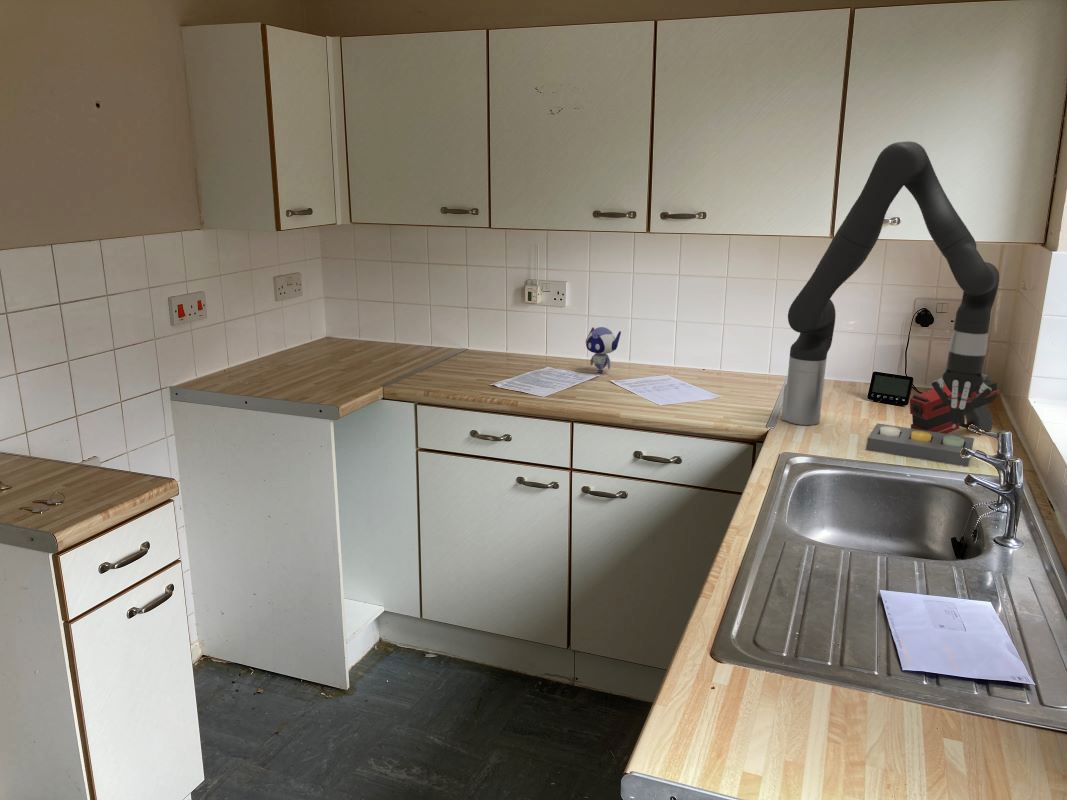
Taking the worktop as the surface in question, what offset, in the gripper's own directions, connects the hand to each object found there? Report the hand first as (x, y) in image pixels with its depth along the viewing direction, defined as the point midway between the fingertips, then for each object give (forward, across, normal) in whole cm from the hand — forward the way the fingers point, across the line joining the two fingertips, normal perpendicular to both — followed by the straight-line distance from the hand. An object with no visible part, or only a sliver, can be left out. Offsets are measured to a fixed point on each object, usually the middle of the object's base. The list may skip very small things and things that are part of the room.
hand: (955, 423), depth 199 cm
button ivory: (+7, -14, 0) cm, 16 cm away
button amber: (+7, -7, 0) cm, 10 cm away
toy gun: (+8, -2, +18) cm, 20 cm away
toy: (+9, -105, +27) cm, 108 cm away
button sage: (+7, 0, 0) cm, 7 cm away
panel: (+8, -7, 0) cm, 10 cm away
